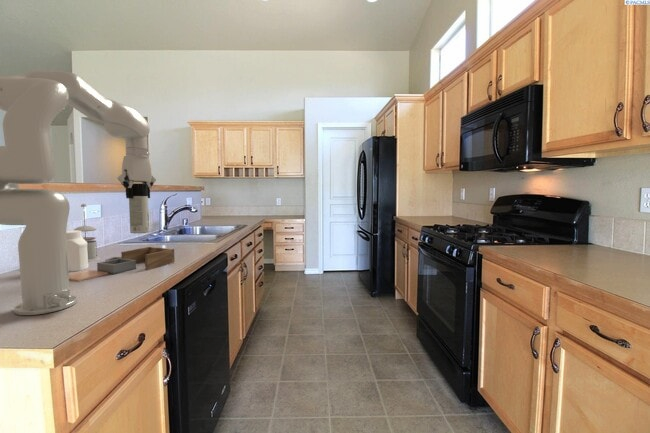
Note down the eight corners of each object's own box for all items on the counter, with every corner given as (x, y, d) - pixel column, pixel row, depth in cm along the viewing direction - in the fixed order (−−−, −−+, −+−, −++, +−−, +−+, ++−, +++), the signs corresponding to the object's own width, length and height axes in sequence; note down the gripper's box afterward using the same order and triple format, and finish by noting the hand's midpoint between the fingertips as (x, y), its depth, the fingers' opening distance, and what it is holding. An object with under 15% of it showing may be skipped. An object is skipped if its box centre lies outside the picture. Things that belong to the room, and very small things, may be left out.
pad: (108, 274, 115) (107, 272, 115) (78, 281, 106) (78, 279, 106) (89, 271, 118) (89, 269, 118) (60, 278, 109) (60, 276, 109)
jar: (49, 274, 114) (46, 234, 112) (51, 269, 121) (49, 231, 120) (88, 269, 121) (86, 232, 119) (88, 264, 128) (86, 229, 127)
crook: (145, 260, 139) (145, 257, 138) (138, 263, 133) (138, 259, 133) (114, 259, 138) (113, 256, 138) (105, 262, 132) (105, 259, 132)
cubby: (174, 262, 134) (174, 249, 133) (147, 269, 122) (147, 254, 121) (150, 259, 139) (149, 246, 138) (121, 266, 126) (121, 252, 126)
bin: (136, 268, 123) (135, 260, 123) (114, 274, 115) (113, 265, 114) (120, 266, 126) (119, 258, 126) (97, 271, 118) (97, 262, 117)
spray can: (152, 232, 127) (151, 183, 125) (135, 234, 121) (133, 183, 119) (143, 231, 130) (142, 183, 129) (126, 232, 125) (125, 183, 123)
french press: (82, 263, 131) (79, 204, 129) (64, 261, 134) (60, 204, 132) (105, 258, 140) (102, 203, 138) (87, 256, 144) (84, 203, 142)
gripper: (149, 156, 133) (150, 197, 134) (108, 151, 116) (110, 198, 118) (162, 155, 130) (163, 198, 131) (122, 150, 114) (124, 198, 115)
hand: (138, 197), depth 124 cm, fingers closed on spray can, 6 cm apart
